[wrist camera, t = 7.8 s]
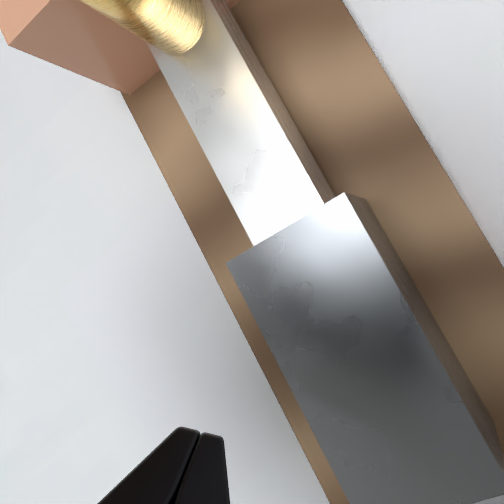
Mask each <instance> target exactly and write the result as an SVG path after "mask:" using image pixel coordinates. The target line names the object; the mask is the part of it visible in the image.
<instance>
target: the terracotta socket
mask: <svg viewBox="0 0 504 504" xmlns="http://www.w3.org/2000/svg"><path fill="white" fill-rule="evenodd" d="M225 1H226V3H227V5H228V7H229V8H230V9H231V8H233V7H234V6H235V5H236V4H237V3H238V2H240V1H241V0H225ZM0 29H1V31H2V33H3V35H4V38H5V40H6V42H7V44H8V45H9V46H11V47H14V48H16V49H18V50H21V51H23V52H26V53H28V54H31V55H33V56H36V57H38V58H40V59H43V60H45V61H48V62H50V63H53V64H55V65H58V66H60V67H62V68H65V69H67V70H70V71H72V72H75V73H77V74H80V75H82V76H84V77H87V78H89V79H92V80H94V81H97V82H99V83H101V84H104V85H106V86H109V87H111V88H114V89H116V90H119V91H121V92H123V93H126V94H128V95H131V94H132V93H133V92H135V91H136V90H137V89H138V88H139V87H140V86H142V85H143V84H144V83H145V82H146V81H147V80H149V79H150V78H151V77H152V76H153V75H154V74H156V73H157V72H158V71H159V70H160V68H159V66H158V64H157V62H156V60H155V58H154V56H153V54H152V52H151V50H150V49H149V47H148V45H147V43H146V41H145V40H143V39H141V38H140V37H138V36H136V35H135V34H133V33H132V32H130V31H128V30H127V29H125V28H123V27H122V26H120V25H119V24H117V23H115V22H114V21H112V20H111V19H109V18H107V17H106V16H104V15H102V14H101V13H99V12H98V11H96V10H94V9H93V8H91V7H89V6H88V5H86V4H85V3H83V2H81V1H80V0H0Z"/></svg>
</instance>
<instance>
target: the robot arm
mask: <svg viewBox="0 0 504 504" xmlns="http://www.w3.org/2000/svg"><path fill="white" fill-rule="evenodd" d="M98 504H230V498H229V488H228V478H227V468H226V458H225V448H224V440H223V438H222V437H221V436H218V435H214V434H210V433H202V434H201V435H200V432H199V431H197V430H193V429H189V428H185V427H178V428H177V429H175V430H174V431H173V432H172V433H171V434H170V435H169V436H168V437H167V438H166V439H165V440H164V441H163V442H162V443H161V444H160V445H159V446H157V447H156V448H155V449H154V450H153V451H152V452H151V453H150V454H149V455H148V456H147V457H146V458H145V459H144V460H143V461H142V462H141V463H140V464H139V465H138V466H137V467H135V468H134V469H133V470H132V471H131V472H130V473H129V474H128V475H127V476H126V477H125V478H124V479H123V480H122V481H121V482H120V483H119V484H118V485H117V486H116V487H115V488H113V489H112V490H111V491H110V492H109V493H108V494H107V495H106V496H105V497H104V498H103V499H102V500H101V501H100V502H99V503H98Z"/></svg>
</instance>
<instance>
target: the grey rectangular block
mask: <svg viewBox="0 0 504 504" xmlns="http://www.w3.org/2000/svg"><path fill="white" fill-rule="evenodd" d="M226 265H227V267H228V269H229V271H230V272H231V274H232V276H233V278H234V280H235V282H236V284H237V286H238V288H239V290H240V292H241V294H242V296H243V298H244V300H245V302H246V304H247V305H248V307H249V309H250V311H251V313H252V315H253V317H254V319H255V321H256V323H257V325H258V327H259V329H260V331H261V333H262V335H263V336H264V338H265V340H266V342H267V344H268V346H269V348H270V350H271V352H272V354H273V356H274V358H275V360H276V362H277V364H278V366H279V368H280V369H281V371H282V373H283V375H284V377H285V379H286V381H287V383H288V385H289V387H290V389H291V391H292V393H293V395H294V397H295V399H296V400H297V402H298V404H299V406H300V408H301V410H302V412H303V414H304V416H305V418H306V420H307V422H308V424H309V426H310V428H311V430H312V432H313V433H314V435H315V437H316V439H317V441H318V443H319V445H320V447H321V449H322V451H323V453H324V455H325V457H326V459H327V461H328V463H329V465H330V466H331V468H332V470H333V472H334V474H335V476H336V478H337V480H338V482H339V484H340V486H341V488H342V490H343V492H344V494H345V496H346V497H347V499H348V501H349V503H350V504H471V503H475V502H478V501H482V500H486V499H489V498H493V497H496V496H500V495H504V455H503V452H502V448H501V445H500V441H499V438H498V434H497V431H496V427H495V424H494V421H493V420H492V418H491V416H490V414H489V413H488V411H487V409H486V407H485V406H484V404H483V402H482V400H481V399H480V397H479V395H478V393H477V392H476V390H475V388H474V386H473V385H472V383H471V381H470V379H469V378H468V376H467V374H466V372H465V371H464V369H463V367H462V366H461V364H460V362H459V360H458V359H457V357H456V355H455V353H454V352H453V350H452V348H451V346H450V345H449V343H448V341H447V339H446V338H445V336H444V334H443V332H442V331H441V329H440V327H439V325H438V324H437V322H436V320H435V318H434V317H433V315H432V313H431V311H430V310H429V308H428V306H427V304H426V303H425V301H424V299H423V297H422V296H421V294H420V292H419V291H418V289H417V287H416V285H415V284H414V282H413V280H412V278H411V277H410V275H409V273H408V271H407V270H406V268H405V266H404V264H403V263H402V261H401V259H400V257H399V256H398V254H397V252H396V250H395V249H394V247H393V245H392V243H391V242H390V240H389V238H388V236H387V235H386V233H385V231H384V229H383V228H382V226H381V224H380V222H379V221H378V219H377V217H376V216H375V214H374V212H373V210H372V209H371V207H370V205H369V203H368V202H367V200H366V199H364V198H361V197H358V196H354V195H351V194H348V193H345V192H344V193H342V194H340V195H339V196H337V197H335V198H334V199H332V200H330V201H329V202H327V203H325V204H324V205H322V206H320V207H319V208H317V209H315V210H314V211H312V212H310V213H309V214H307V215H305V216H304V217H302V218H300V219H299V220H297V221H295V222H293V223H292V224H290V225H288V226H287V227H285V228H283V229H282V230H280V231H278V232H277V233H275V234H273V235H272V236H270V237H268V238H267V239H265V240H263V241H262V242H260V243H258V244H257V245H255V246H253V247H252V248H250V249H248V250H247V251H245V252H243V253H242V254H240V255H238V256H237V257H235V258H233V259H232V260H230V261H228V262H227V263H226Z"/></svg>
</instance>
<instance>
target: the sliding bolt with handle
mask: <svg viewBox="0 0 504 504" xmlns="http://www.w3.org/2000/svg"><path fill="white" fill-rule="evenodd" d="M80 1H81V2H83V3H85V4H86V5H88V6H89V7H91V8H93V9H94V10H96V11H98V12H99V13H101V14H102V15H104V16H106V17H107V18H109V19H111V20H112V21H114V22H115V23H117V24H119V25H120V26H122V27H123V28H125V29H127V30H128V31H130V32H132V33H133V34H135V35H136V36H138V37H140V38H141V39H143V40H145V41H146V43H147V45H148V47H149V49H150V50H151V52H152V54H153V56H154V58H155V60H156V62H157V64H158V66H159V68H160V69H161V71H162V73H163V75H164V77H165V79H166V81H167V83H168V85H169V86H170V88H171V90H172V92H173V94H174V96H175V98H176V100H177V102H178V104H179V105H180V107H181V109H182V111H183V113H184V115H185V117H186V119H187V121H188V123H189V124H190V126H191V128H192V130H193V132H194V134H195V136H196V138H197V140H198V141H199V143H200V145H201V147H202V149H203V151H204V153H205V155H206V157H207V159H208V160H209V162H210V164H211V166H212V168H213V170H214V172H215V174H216V176H217V177H218V179H219V181H220V183H221V185H222V187H223V189H224V191H225V193H226V195H227V196H228V198H229V200H230V202H231V204H232V206H233V208H234V210H235V212H236V213H237V215H238V217H239V219H240V221H241V223H242V225H243V227H244V229H245V231H246V232H247V234H248V236H249V238H250V240H251V242H252V244H253V246H255V245H257V244H258V243H260V242H262V241H263V240H265V239H267V238H268V237H270V236H272V235H273V234H275V233H277V232H278V231H280V230H282V229H283V228H285V227H287V226H288V225H290V224H292V223H293V222H295V221H297V220H299V219H300V218H302V217H304V216H305V215H307V214H309V213H310V212H312V211H314V210H315V209H317V208H319V207H320V206H322V205H324V204H325V203H327V202H329V201H330V200H332V199H334V198H335V197H336V196H335V195H334V193H333V191H332V189H331V188H330V186H329V184H328V182H327V180H326V179H325V177H324V175H323V173H322V172H321V170H320V168H319V166H318V165H317V163H316V161H315V159H314V157H313V156H312V154H311V152H310V150H309V149H308V147H307V145H306V143H305V141H304V140H303V138H302V136H301V134H300V133H299V131H298V129H297V127H296V125H295V124H294V122H293V120H292V118H291V117H290V115H289V113H288V111H287V110H286V108H285V106H284V104H283V102H282V101H281V99H280V97H279V95H278V94H277V92H276V90H275V88H274V86H273V85H272V83H271V81H270V79H269V78H268V76H267V74H266V72H265V70H264V69H263V67H262V65H261V63H260V62H259V60H258V58H257V56H256V55H255V53H254V51H253V49H252V47H251V46H250V44H249V42H248V40H247V39H246V37H245V35H244V33H243V31H242V30H241V28H240V26H239V24H238V23H237V21H236V19H235V17H234V15H233V14H232V12H231V10H230V8H229V7H228V5H227V3H226V1H225V0H80Z"/></svg>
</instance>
